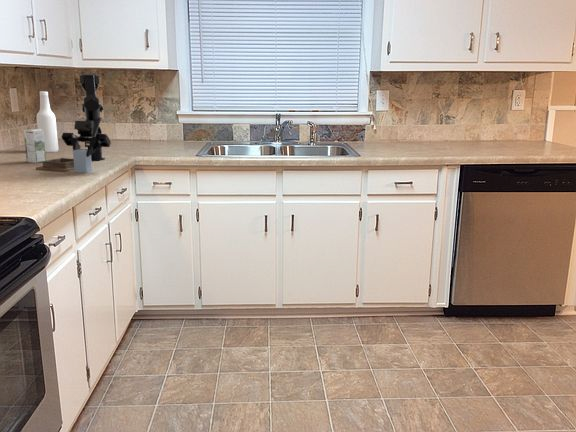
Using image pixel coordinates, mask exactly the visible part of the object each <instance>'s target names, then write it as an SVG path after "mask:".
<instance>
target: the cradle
mask: <svg viewBox="0 0 576 432" xmlns="http://www.w3.org/2000/svg"><path fill="white" fill-rule="evenodd" d="M35 170H40V171H50V172H62V173H67V172H71V171H75V170H74V158H67V157H59V158H53V159H48V160H47V159H46V161H43V162H42V165H40V166H36V167H35Z"/></svg>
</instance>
